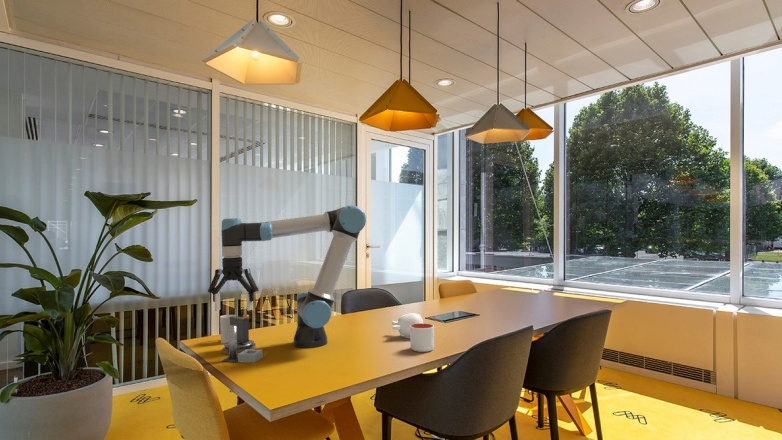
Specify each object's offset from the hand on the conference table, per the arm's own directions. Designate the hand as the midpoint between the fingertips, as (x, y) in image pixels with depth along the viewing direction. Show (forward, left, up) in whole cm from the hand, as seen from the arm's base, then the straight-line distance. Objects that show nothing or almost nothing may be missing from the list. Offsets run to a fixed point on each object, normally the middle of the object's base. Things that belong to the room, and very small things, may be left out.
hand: (233, 310), depth 173 cm
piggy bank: (-65, -43, -20) cm, 80 cm away
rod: (0, 0, -19) cm, 19 cm away
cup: (-74, -22, -20) cm, 79 cm away
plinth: (+4, -13, -20) cm, 24 cm away
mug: (+17, -27, -20) cm, 38 cm away
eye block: (-7, -1, -20) cm, 21 cm away
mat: (0, 0, -20) cm, 20 cm away
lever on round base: (+4, -13, -18) cm, 22 cm away
